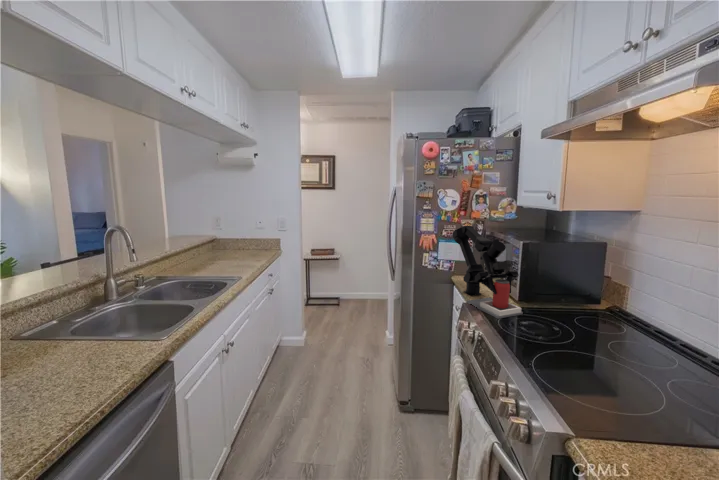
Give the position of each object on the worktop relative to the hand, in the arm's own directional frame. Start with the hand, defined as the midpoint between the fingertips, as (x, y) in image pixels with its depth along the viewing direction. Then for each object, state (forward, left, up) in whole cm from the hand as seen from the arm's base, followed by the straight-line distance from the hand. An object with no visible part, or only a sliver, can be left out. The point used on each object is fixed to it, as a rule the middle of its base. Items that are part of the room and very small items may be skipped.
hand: (503, 293), depth 140 cm
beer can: (-1, 0, -7) cm, 7 cm away
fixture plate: (-5, 0, -9) cm, 10 cm away
